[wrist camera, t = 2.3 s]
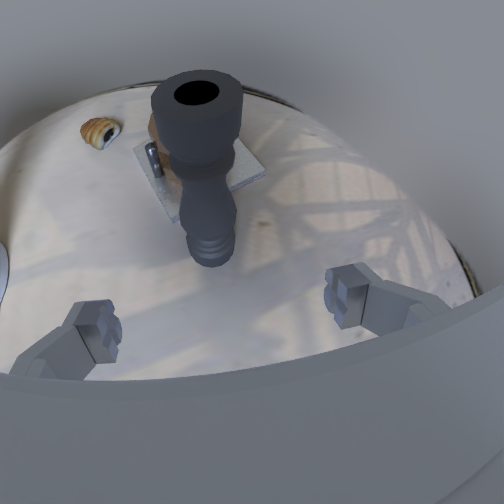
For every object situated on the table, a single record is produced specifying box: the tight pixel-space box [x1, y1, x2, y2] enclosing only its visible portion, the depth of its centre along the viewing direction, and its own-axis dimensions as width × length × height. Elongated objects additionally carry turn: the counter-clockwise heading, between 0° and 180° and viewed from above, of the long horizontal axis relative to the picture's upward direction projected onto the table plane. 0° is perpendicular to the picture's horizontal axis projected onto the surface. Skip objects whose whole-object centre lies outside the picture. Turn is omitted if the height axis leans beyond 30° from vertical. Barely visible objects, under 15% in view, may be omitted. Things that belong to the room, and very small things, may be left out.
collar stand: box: [133, 113, 265, 223], centre depth 38 cm, size 16×16×10 cm
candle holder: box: [151, 70, 244, 267], centre depth 26 cm, size 6×6×25 cm
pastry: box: [80, 118, 120, 150], centre depth 42 cm, size 9×7×4 cm
